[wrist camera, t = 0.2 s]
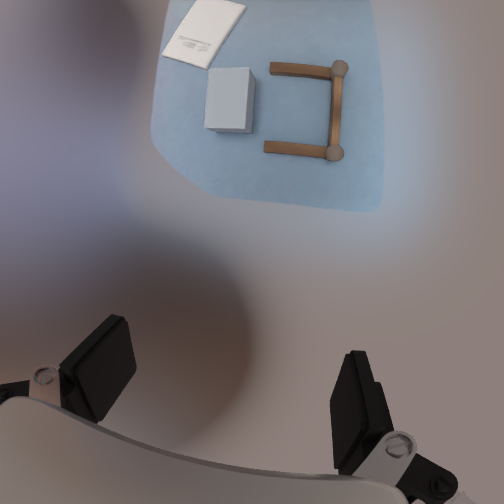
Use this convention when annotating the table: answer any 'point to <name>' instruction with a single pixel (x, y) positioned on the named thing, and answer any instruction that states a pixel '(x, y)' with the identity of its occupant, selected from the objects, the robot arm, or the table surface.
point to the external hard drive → (203, 32)
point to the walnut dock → (336, 76)
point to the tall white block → (230, 100)
